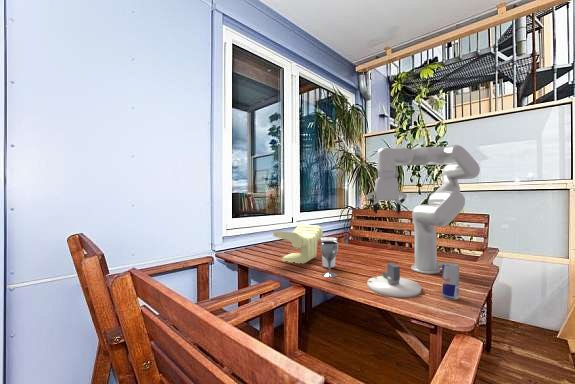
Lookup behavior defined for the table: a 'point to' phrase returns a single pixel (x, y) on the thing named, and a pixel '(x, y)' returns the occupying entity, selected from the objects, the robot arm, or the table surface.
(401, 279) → the tuner dial
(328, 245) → the wine glass
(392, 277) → the tuning knob
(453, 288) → the energy drink
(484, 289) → the table surface
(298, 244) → the slatted curved stool
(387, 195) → the robot arm
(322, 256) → the cup
